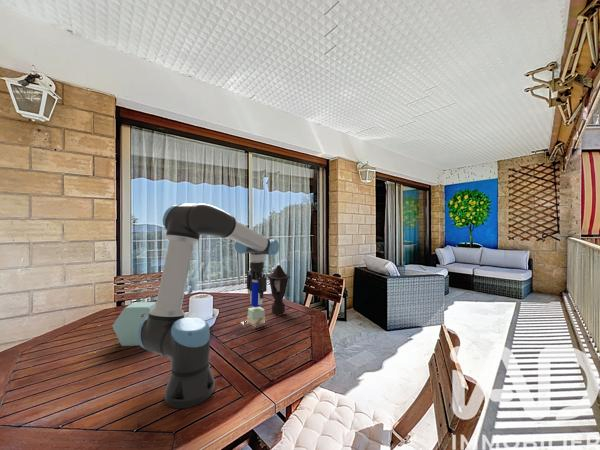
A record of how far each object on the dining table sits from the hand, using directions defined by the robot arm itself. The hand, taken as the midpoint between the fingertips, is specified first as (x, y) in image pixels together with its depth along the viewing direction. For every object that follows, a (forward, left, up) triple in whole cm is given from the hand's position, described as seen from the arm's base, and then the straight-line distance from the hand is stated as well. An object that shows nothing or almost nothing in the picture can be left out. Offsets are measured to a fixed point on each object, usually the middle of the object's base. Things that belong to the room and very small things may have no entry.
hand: (256, 303), depth 142 cm
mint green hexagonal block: (-54, +13, -12) cm, 57 cm away
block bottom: (0, 0, -11) cm, 11 cm away
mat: (0, 0, -12) cm, 12 cm away
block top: (0, 0, -7) cm, 7 cm away
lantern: (+19, +7, -12) cm, 23 cm away
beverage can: (0, 0, -2) cm, 2 cm away
